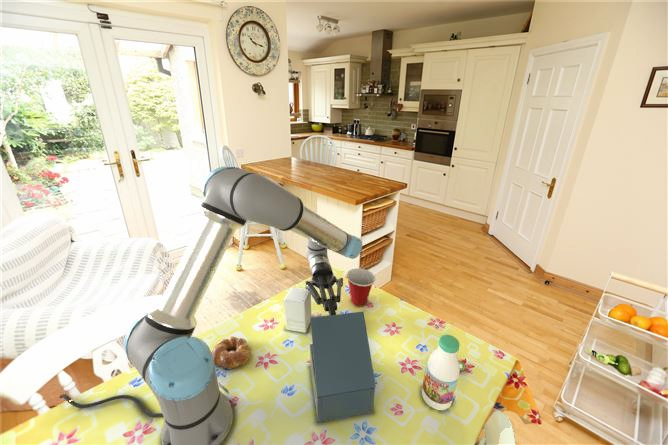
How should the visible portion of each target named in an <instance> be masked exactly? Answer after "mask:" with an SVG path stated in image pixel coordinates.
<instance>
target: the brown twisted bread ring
mask: <svg viewBox="0 0 668 445" xmlns="http://www.w3.org/2000/svg"><path fill="white" fill-rule="evenodd" d="M250 349H251V348H250V345H249V344H247V340H246V339H245V338H243V337H237V336H229V337H227V338H223V339H221V340H219V341H218V342H217V343H216V344H215V346H214V347H213V349H212V351H211V353H212V356H213V358H214V366H215V367H222V368H225V369H226V370H227V369H228V370H232V369H235V368H237V367H238V366H243V365H245V364H246V363H247V362H248V361H249V359H250Z"/></svg>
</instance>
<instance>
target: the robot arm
mask: <svg viewBox="0 0 668 445" xmlns="http://www.w3.org/2000/svg"><path fill="white" fill-rule="evenodd" d="M201 192H202V197H203V201H202V203H201V205H200V207H199V208H200V211H201V214H202V218H201V220H200V221H199V224H198V226H197V228H196V230H195V231H194V233H193V236H192V238H191V240H190V241H189V244H188V245H187V247H186V250H185V251H184V253H183V256H182V257H181V259H180V262H179V263H178V265H177V267H176V270H175V271H174V273H173V276H172V277H171V279H170V281H169V284H168V286H167V288H166V289H165V292H164V293H163V296H162V297H161V299H160V302H159V303H158V304H157V305H155V306H153V307H150V308H149V309H148V310H147V312H146V314H143V315H142V316H141V317H140V318H139V319H136V320H135V321H134V322H132V324H131V325H130V326H129V327H128V329H127V331H126V334H125V336H124V339H123V349H124V352H125V354H126V357H127V360H128V361H129V362H130V364H131V365H132V366H133V367H134V368H135V370H137V372H138V374H139V375H140V377H141V378H142V379H143V382H145V383H146V385H147V386H148V388H149V390H150V391H151V392H152V393H153V395H154V397H155V398H156V400H157V403H158V405H159V408H160V410H161V412H152V411H149V410H148V409H147V408H146V407H145V405H144V404H143V403H142V402H141V400H139V399H138V398H137V397H135V396H133V395H130V394H119V395H113V396H110V397H107V398H104V399H101V400H99V401H95V402H90V403H79V402H76V401H75V400H73V401H71V402H69V400H71V399H72V398H71V397H70V395H68V394H66V393H62V394H60V395H59V399H62V398H63V400H65V401H66V402H67V401H68V402H67V403H68V404H70V405H71V406H72V407H75V408H78V409H88V408H92V407H97V406H99V405H100V406H101V405H102V404H107V403H108V402H109V403H110V402H112V401H116V400H121V399H123V400H130V401H133V402H134V403H135V404H136V406H137V407H138V408H139V409H140V411H141V412H142V413H143V414H144V415H146V416H147V417H148V418H149V417H150V418H163V423H162V424H163V425H162V431H161V445H222V444H223V443H224V441H225V440H226V438H227V437H228V435H229V433H230V431H231V428H232V425H233V420H234V414H233V407H232V404H231V402H230V400H229V399H228V397H227V396H226V395H225V394H224V393H223V392H222V391H221V390H220V388H221V389H222V390H223V391H224V392H225V393H227V394H228V395H230V392H229V389H228V388H226V387H225V386H224V385H223V384H222V383H221V382H218V376H217V371H216V365H214V358H213V356H212V351H211V348H210V346H209V345H208V344H207V343H206V342H205V341H204V340H203V339H201V338H199V337H197V336H193V333H194V331H195V329H196V327H197V325H198V321H197V319H196V317H195V315H196V313H197V311H198V309H199V307H200V305H201V302H202V300H203V298H204V296H205V294H206V292H207V290H208V288H209V286H210V284H211V282H212V279H213V277H214V276H215V274H216V272H217V269H218V268H219V265H220V262H221V261H222V259H223V257H224V255H225V254H226V251H227V249H228V247H229V245H230V242H231V241H232V239H233V236H234V234H235V232H236V231H237V230H238V229H241V228H244V227H245V226H246V224H247V222H248V221H249V222H253V223H257V224H260V225H265V226H268V227H272V228H275V229H277V230H279V231H281V232H289V231H291V232H293V233H294V234H297V235H299V236H301V237H303V238H305V239H307V240H306V241H307V248H306V258H307V261H308V264H309V265H308V267H309V270H310V276H311V279H310V281H309V280H307V281H306V280H305V289H307V290H308V291H310V293H311V298H313V300H314V302H315V303H316V305H317V306H319V305H322V308H323V309H324V310H323V311H325V313H326V312H328V315H337V311H338V303H341V302H342V301H341V299H342V287H343V286H344V278H343V277H340V278H337V277H336V276H335V275H334V272H333V268H332V265H331V263H330V262H331V261H330V259H329V256H328V250H329V251H332V252H333V253H337V254H339V255H341V256H343V257H345V258H348V259H352V260H354V259H356V258H358V257H359V256H360V254H361V252H362V249H363V241H362V239H361V238H360V237H357V236H356V235H352V234H349V233H348V232H346V231H344V230H343V229H342V228H340V227H338V226H336V225H335V224H333V223H332V222H330V220H327V219H326V218H325V217H322V216H321V215H320V214H317V213H316V212H315V211H313V210H311V208H308V207H306V206H305V205H304V202H303V200H302V199H301V198H300V197H299V196H297V195H295V194H294V193H292V192H291V191H289V190H288V189H287V188H285V187H284V186H283V185H281V184H280V183H278V182H277V181H275V180H274V179H272V178H270V177H268V176H266V175H265V174H260V173H256V172H253V171H250V170H246V169H243V168H240V167H238V166H237V167H236V166H219V167H216V168H214V169H213V170H212V171H210V172H209V173H208V174H207V175H206V176H205V178H204V180H203V182H202V186H201ZM335 284H336V286H337V287H336V293H335V291H334V288H333V287H334V285H335ZM317 289H318V290H319V292H318V290H317ZM326 291H327V293H328V296H327V293H326ZM327 297H329V298H327Z"/></svg>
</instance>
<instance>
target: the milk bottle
mask: <svg viewBox="0 0 668 445" xmlns="http://www.w3.org/2000/svg"><path fill="white" fill-rule="evenodd" d="M459 349H460V341H459V340H458V339H457V338H456V337H455V336H453V335H451V334H442V335H441V336H439V338H438V343H437V348H436V349H435V350H434V351H433V352H432V353H431V354H430V356H429V358H428V359H427V363H426V367H425V371H424V378H423V382H422V386H421V396H422V399H423V400H424V402H425V403H426V404H427V405H428V406H429V407H430V408H432V409H434V410H436V411H437V410H438V411H445V410H447V409H449V408H450V407H451V406H452V404H453V401H454V400H453V399H454V397H455V392H456V389H457V384H458V381H459V377H460V372H461V371H460V366H459V359H458V355H457V354H458V353H459Z"/></svg>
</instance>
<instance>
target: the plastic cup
mask: <svg viewBox="0 0 668 445" xmlns="http://www.w3.org/2000/svg"><path fill="white" fill-rule="evenodd" d="M346 278H347V282H348V286H349V295H350V301H351V303H352V305H353V306H355V307H363V306H365V305H366V304H367V302H368V299H369V296H370V293H371V289H372V287H373V284H374V283H375V282H376V279H377V278H376V275H375V274H374V273H373V271H370V270H368V269H365V268H359V267H357V268H352V269H350V270H348V271H347V273H346Z"/></svg>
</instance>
